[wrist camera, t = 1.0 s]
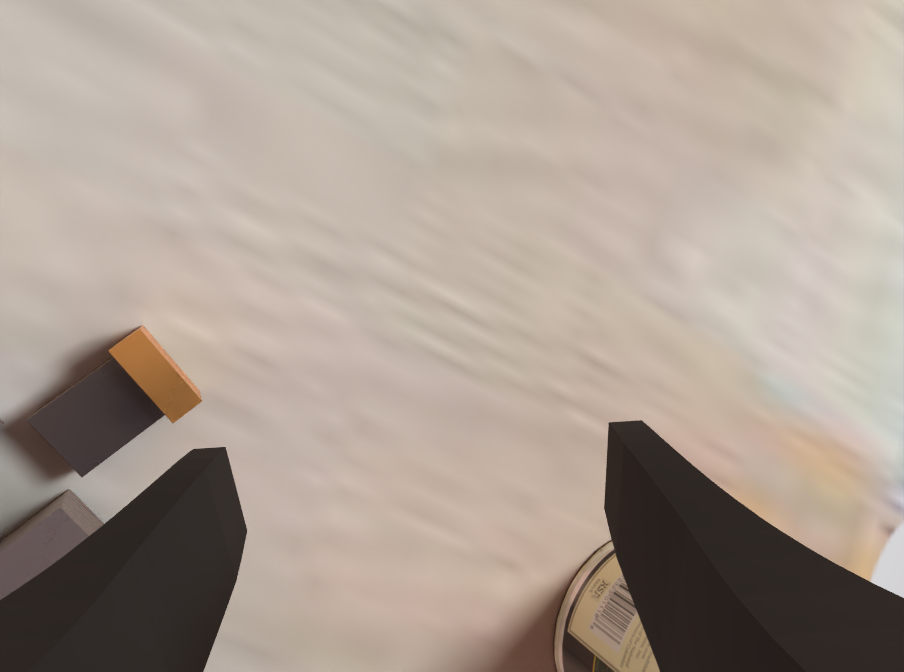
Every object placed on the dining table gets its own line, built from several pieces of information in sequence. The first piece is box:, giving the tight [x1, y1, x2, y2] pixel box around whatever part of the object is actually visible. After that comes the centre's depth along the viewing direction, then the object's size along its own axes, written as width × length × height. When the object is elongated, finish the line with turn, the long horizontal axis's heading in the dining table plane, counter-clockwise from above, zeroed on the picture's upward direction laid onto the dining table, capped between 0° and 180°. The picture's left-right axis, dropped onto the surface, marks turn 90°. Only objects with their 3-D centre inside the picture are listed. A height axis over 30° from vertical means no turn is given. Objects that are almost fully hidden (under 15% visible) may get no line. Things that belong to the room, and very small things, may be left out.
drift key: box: [26, 326, 202, 477], centre depth 23 cm, size 5×3×3 cm
